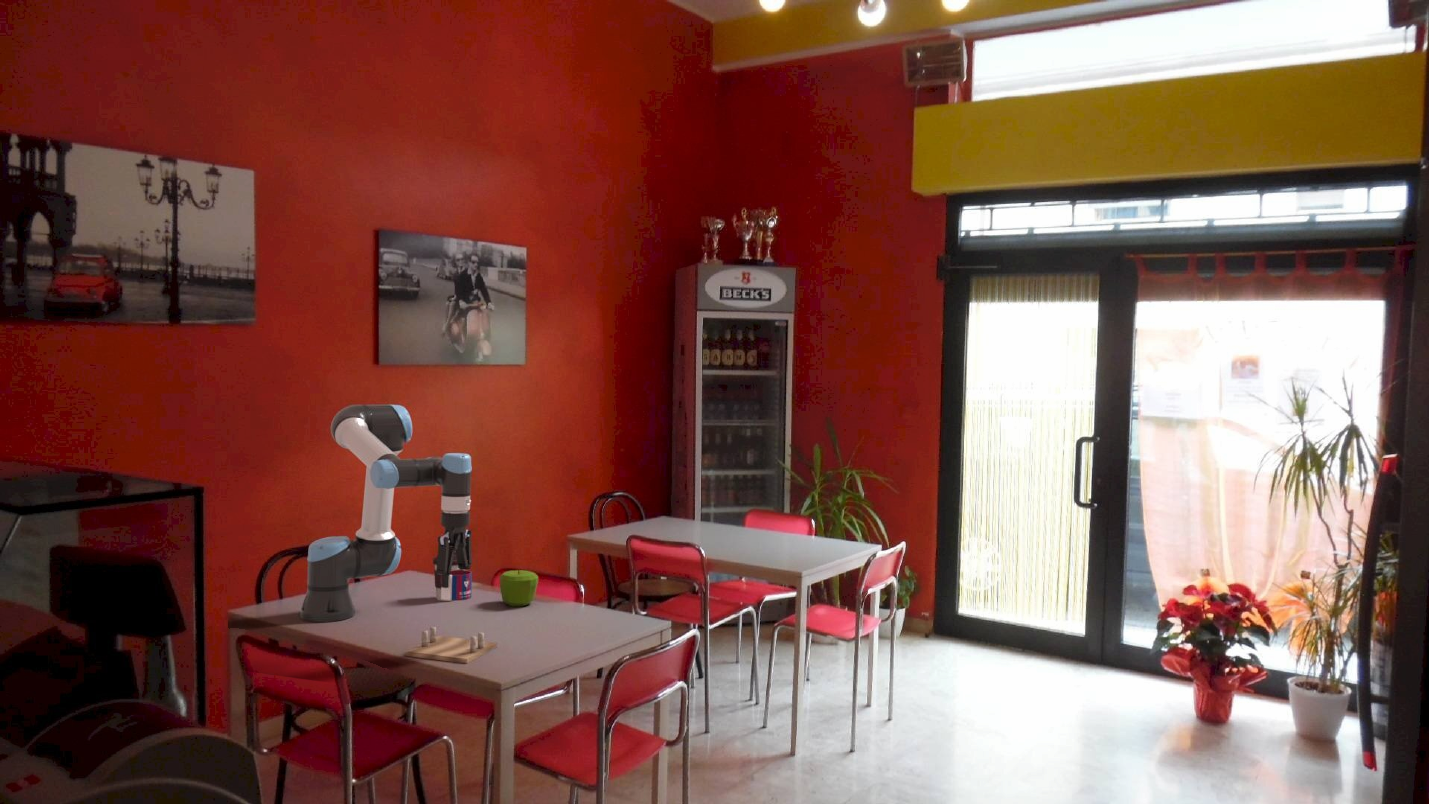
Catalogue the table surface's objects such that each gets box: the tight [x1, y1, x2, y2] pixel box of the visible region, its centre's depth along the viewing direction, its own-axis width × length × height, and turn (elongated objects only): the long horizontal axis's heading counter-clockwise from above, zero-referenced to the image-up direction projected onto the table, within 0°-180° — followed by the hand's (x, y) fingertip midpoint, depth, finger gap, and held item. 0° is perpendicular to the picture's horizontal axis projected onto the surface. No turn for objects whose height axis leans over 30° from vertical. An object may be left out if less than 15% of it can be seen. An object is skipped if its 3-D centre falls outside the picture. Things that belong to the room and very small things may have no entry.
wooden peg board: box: [405, 626, 498, 664], centre depth 263 cm, size 18×16×5 cm
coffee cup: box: [432, 552, 460, 602], centre depth 321 cm, size 10×10×15 cm
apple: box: [499, 569, 539, 607], centre depth 317 cm, size 12×12×11 cm
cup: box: [441, 569, 473, 601], centre depth 263 cm, size 7×10×7 cm
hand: (453, 596), depth 263 cm, fingers closed on cup, 7 cm apart
